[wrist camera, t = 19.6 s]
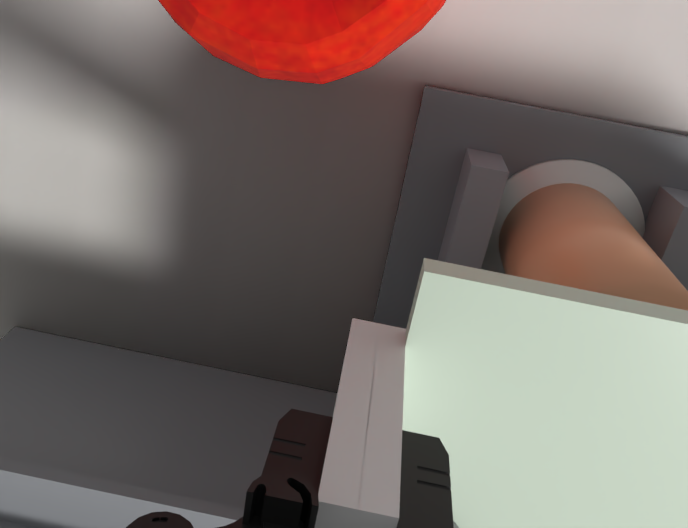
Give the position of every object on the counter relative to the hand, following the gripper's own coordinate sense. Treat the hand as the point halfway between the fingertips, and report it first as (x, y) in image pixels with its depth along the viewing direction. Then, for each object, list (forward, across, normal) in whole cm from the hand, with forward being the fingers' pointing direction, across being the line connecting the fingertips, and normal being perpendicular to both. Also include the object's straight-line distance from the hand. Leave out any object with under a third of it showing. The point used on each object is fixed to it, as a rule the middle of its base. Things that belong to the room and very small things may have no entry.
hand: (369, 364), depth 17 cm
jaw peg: (+10, +7, +1) cm, 12 cm away
